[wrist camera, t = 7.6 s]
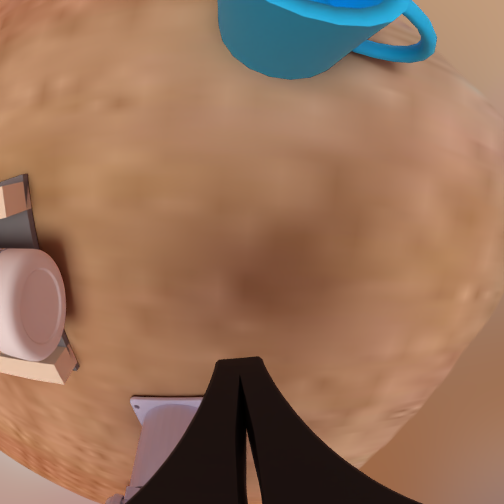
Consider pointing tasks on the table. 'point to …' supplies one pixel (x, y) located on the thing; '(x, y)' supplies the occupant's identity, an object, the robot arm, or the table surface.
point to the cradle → (24, 237)
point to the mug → (316, 33)
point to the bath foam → (30, 304)
